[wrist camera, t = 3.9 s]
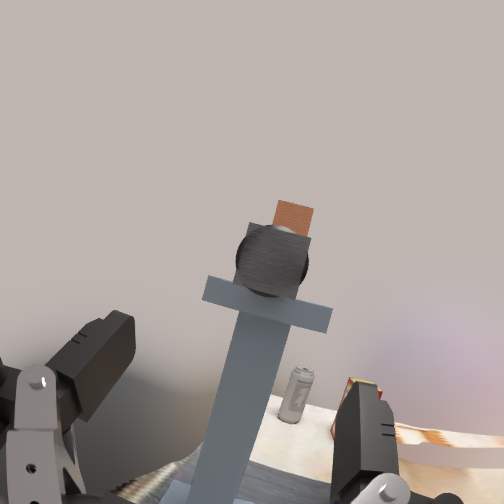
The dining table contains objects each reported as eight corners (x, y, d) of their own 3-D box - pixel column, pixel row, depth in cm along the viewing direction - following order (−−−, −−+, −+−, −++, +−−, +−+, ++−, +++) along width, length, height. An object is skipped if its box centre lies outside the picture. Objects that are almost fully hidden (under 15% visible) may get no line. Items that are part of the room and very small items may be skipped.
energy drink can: (294, 415, 81) (310, 366, 82) (302, 425, 75) (320, 373, 76) (274, 413, 79) (290, 363, 81) (281, 423, 73) (299, 370, 75)
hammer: (256, 289, 38) (278, 206, 39) (290, 298, 37) (311, 215, 38) (220, 285, 15) (274, 99, 16) (304, 307, 15) (347, 115, 16)
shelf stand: (175, 481, 38) (228, 280, 41) (253, 504, 37) (320, 304, 40) (136, 543, 22) (196, 272, 26) (240, 575, 21) (344, 311, 24)
